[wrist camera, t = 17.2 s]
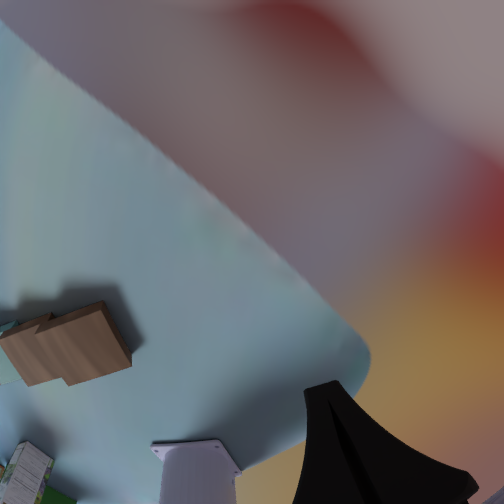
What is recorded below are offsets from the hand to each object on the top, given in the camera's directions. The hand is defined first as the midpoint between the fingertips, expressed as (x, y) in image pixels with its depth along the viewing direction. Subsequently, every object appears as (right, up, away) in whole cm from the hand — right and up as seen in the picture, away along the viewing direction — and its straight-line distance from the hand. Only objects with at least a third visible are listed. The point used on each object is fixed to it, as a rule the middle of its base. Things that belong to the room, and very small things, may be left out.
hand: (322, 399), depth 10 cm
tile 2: (-18, -1, +8) cm, 20 cm away
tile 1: (-12, 0, +8) cm, 15 cm away
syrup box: (-38, -26, +16) cm, 49 cm away
